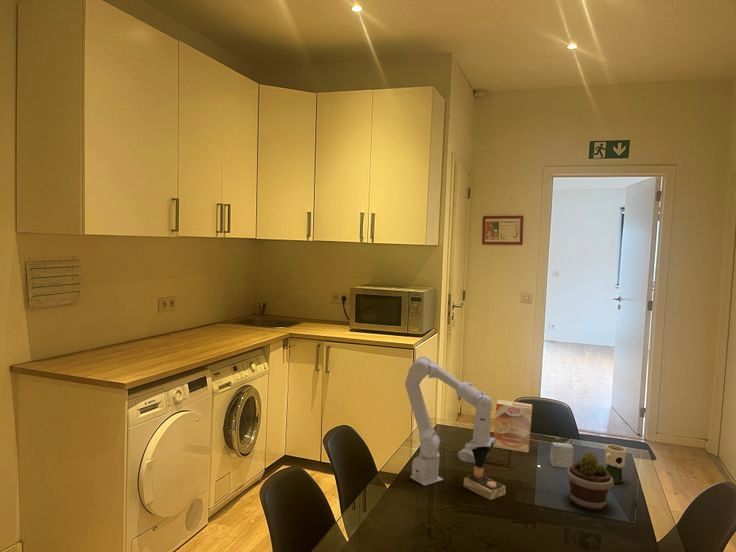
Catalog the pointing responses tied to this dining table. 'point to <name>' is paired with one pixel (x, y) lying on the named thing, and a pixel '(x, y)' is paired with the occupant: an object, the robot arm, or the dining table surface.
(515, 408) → the coffeecake box
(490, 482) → the peg
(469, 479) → the socket block
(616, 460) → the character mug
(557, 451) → the medicine box
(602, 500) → the flowerpot
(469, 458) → the stone block
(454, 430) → the dining table surface
